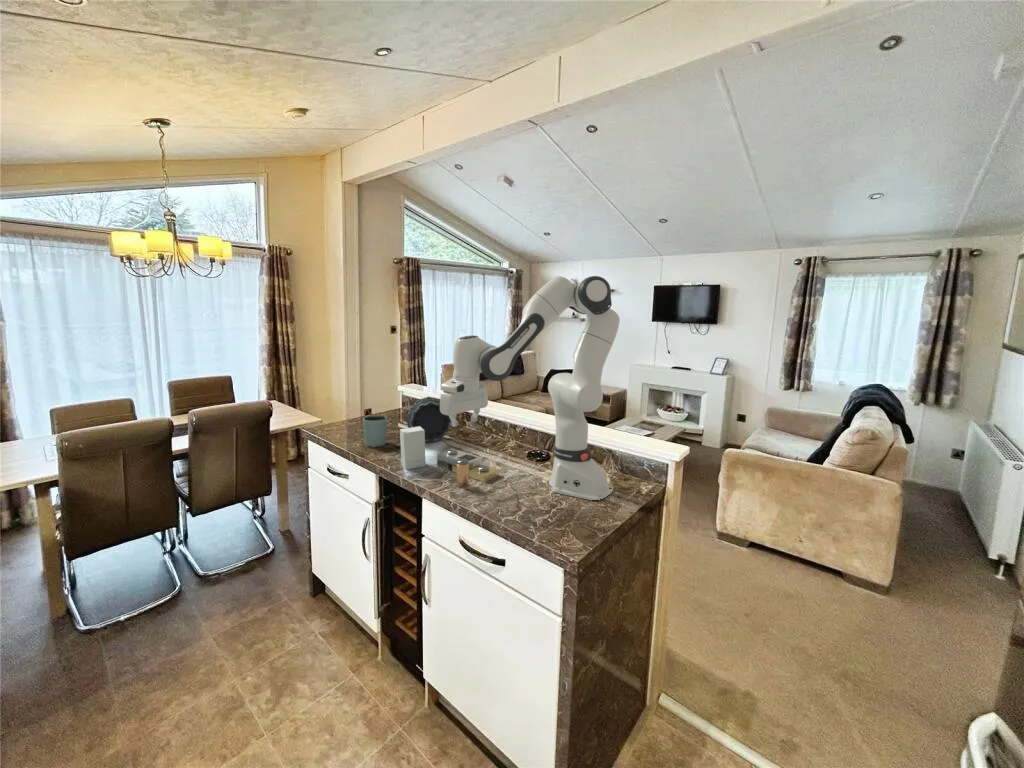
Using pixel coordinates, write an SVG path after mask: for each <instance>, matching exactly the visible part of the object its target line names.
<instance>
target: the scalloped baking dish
mask: <svg viewBox="0 0 1024 768" xmlns="http://www.w3.org/2000/svg"><path fill="white" fill-rule="evenodd" d="M406 424H407V428H412V427H418V426H420V427H421V428H422V429H423V430H425V443H426V442H427V443H430V442H431V443H432V442H436V441H439V440H441V439H443V438H444V437H445V436H446V435H447V434H448V432H450V429H451V427H452V425H451V420H450V418H449V416H448V415H444V414H442V413H441V412H440V398H437V397H432V396H427V397H422V398H420V399H417V400H416V401H415V402H414V403H413V404H412V405H411V406H410V407H409V409H408V412H407V415H406Z"/></svg>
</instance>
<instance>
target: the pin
mask: <svg viewBox="0 0 1024 768" xmlns="http://www.w3.org/2000/svg"><path fill="white" fill-rule="evenodd" d="M469 478H470V477H469V460H468V459H458V460H457V473H456V487H457V486H458V487H457V488H460V487H461V489H463V488H462V487H465V488H468V487H469Z"/></svg>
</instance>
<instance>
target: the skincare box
mask: <svg viewBox="0 0 1024 768" xmlns="http://www.w3.org/2000/svg"><path fill="white" fill-rule="evenodd" d="M399 438H400V439H399V441H400V461H401V463H400V464H401V465H402V467H403V468H404V470H406V471H407V470H411V469H416V468H418V469H419V468H422V467H426V465H427V464H426V441H425V430H423V429H422V428H421V427H420V426H418V427H412V428H408V427H407V428H401V429H399Z"/></svg>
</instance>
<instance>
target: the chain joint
mask: <svg viewBox="0 0 1024 768" xmlns="http://www.w3.org/2000/svg"><path fill="white" fill-rule="evenodd" d="M436 453H437V452H436ZM436 457H437V458H436V459H437V460H436V462H437V464H436V465H437V466H436V467H439V468H441V469H445V470H451V471H452V472H454V473H456V474H457V460H458V459H468V460H469V478H471V479H473V480H474V479H475V480H478V481H480V482H482V483H485V482H488V481H490V480H493V479H495V478H497V477H498V476H499V474H500V469H498V468H497V467H496V468H495V467H493V466H490V465H486V464H484V463H483V457H482V456H478V455H475V454H472V453H468V452H465V451H462V450H458V449H456V448H449V449H446V450H444V451H443V450H442V451H441V452H438V453H437V454H436Z"/></svg>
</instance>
